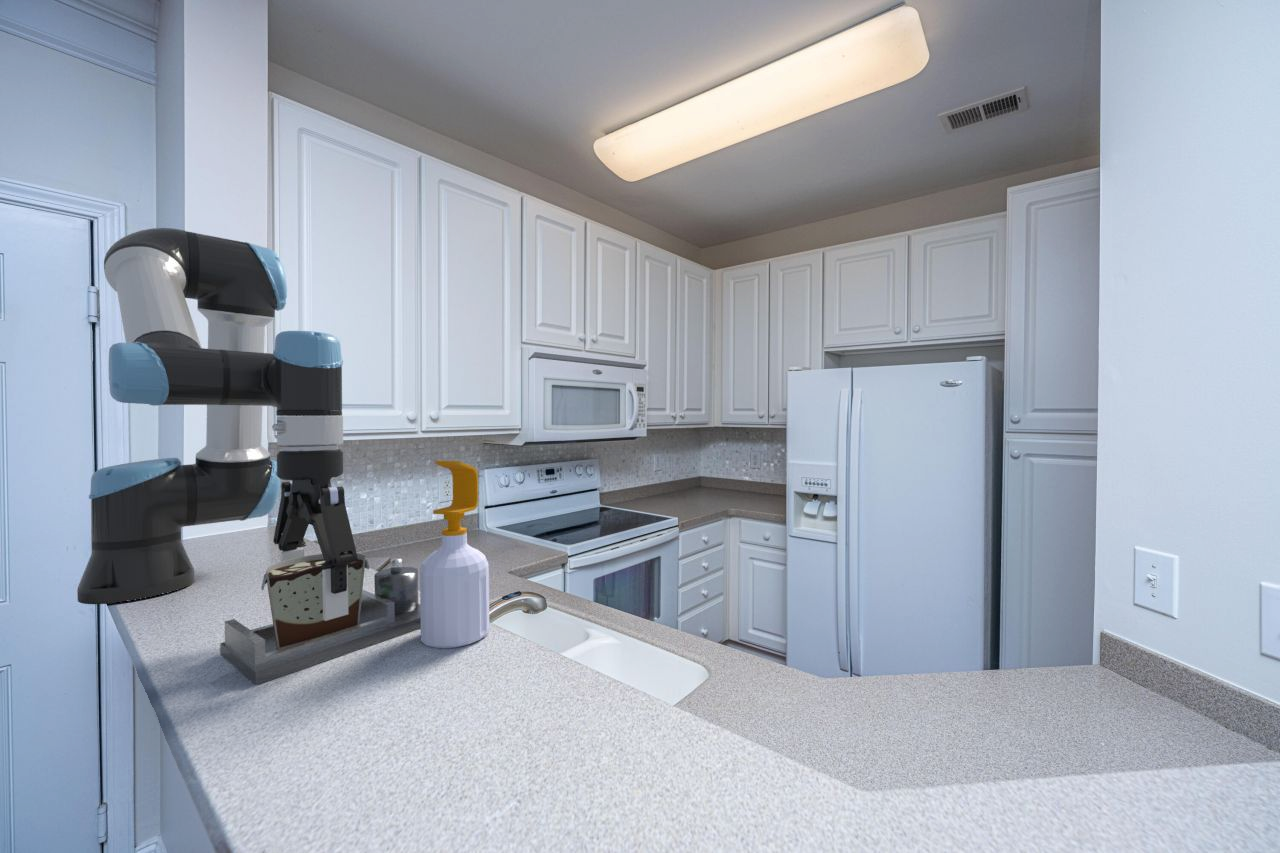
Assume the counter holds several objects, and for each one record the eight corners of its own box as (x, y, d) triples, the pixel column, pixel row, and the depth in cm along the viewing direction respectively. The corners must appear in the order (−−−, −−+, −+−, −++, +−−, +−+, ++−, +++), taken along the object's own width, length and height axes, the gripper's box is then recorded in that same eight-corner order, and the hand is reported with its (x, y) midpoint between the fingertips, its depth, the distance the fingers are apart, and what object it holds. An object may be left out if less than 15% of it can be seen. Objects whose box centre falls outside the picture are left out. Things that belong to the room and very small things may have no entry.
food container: (355, 614, 77) (354, 546, 77) (370, 625, 73) (369, 554, 73) (253, 640, 68) (251, 564, 68) (263, 654, 64) (261, 573, 64)
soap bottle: (405, 645, 70) (403, 462, 69) (449, 620, 78) (447, 457, 78) (463, 653, 67) (460, 463, 67) (501, 626, 76) (499, 458, 75)
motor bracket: (220, 654, 67) (219, 585, 67) (394, 603, 86) (393, 549, 85) (256, 685, 59) (254, 606, 59) (439, 621, 78) (438, 561, 78)
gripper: (245, 447, 74) (247, 595, 74) (320, 452, 59) (323, 637, 59) (303, 445, 80) (306, 581, 80) (385, 449, 65) (387, 617, 65)
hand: (313, 606), depth 70 cm, fingers open, 13 cm apart
